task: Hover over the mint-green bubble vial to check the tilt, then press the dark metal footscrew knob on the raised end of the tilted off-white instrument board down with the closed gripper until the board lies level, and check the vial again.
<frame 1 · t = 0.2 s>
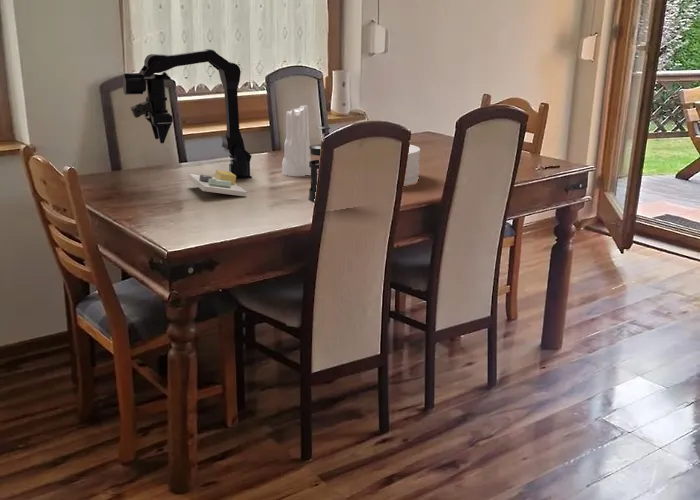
hand: (159, 141, 261), 14 cm above the table, fingers open, 9 cm apart
french press: (324, 200, 247), on the table
plate stack: (379, 180, 278), on the table
decorative vase: (297, 174, 285), on the table
instrument board: (217, 180, 253), point 4 cm above the table, hinge at 12.0°
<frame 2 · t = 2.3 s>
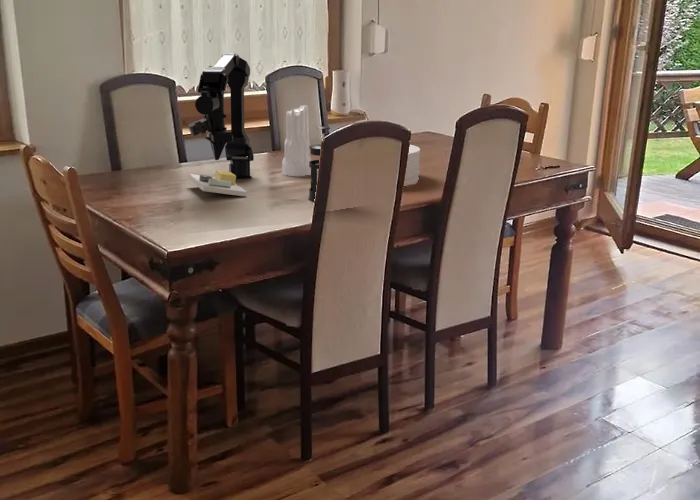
hand: (216, 159, 249), 11 cm above the table, fingers closed
nothing on the table moved.
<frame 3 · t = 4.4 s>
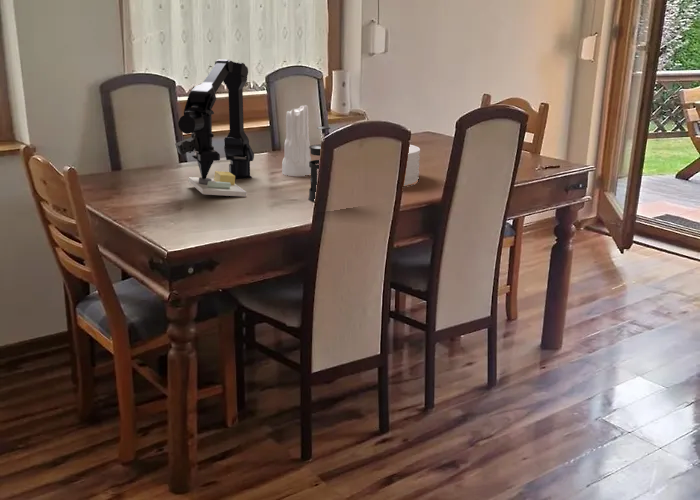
hand: (203, 178, 251), 5 cm above the table, fingers closed, pressing on instrument board
instrument board: (217, 182, 253), point 3 cm above the table, hinge at 7.8°, touching gripper
everything else where it was.
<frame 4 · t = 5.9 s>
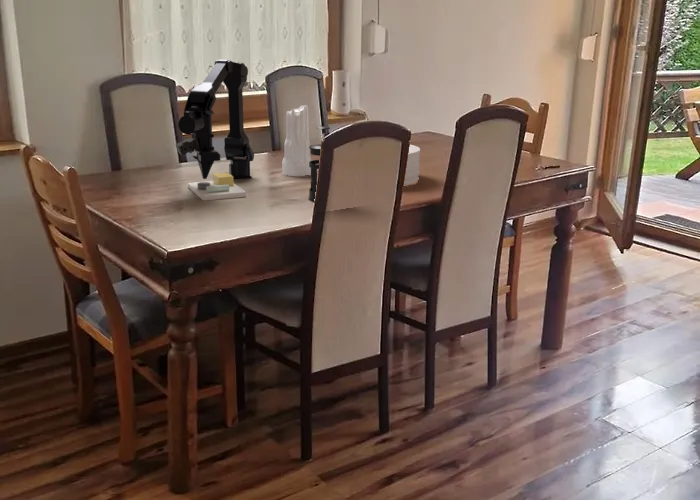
hand: (204, 178, 251), 5 cm above the table, fingers closed
instrument board: (216, 185, 254), point 2 cm above the table, hinge at -0.5°
everything else where it was.
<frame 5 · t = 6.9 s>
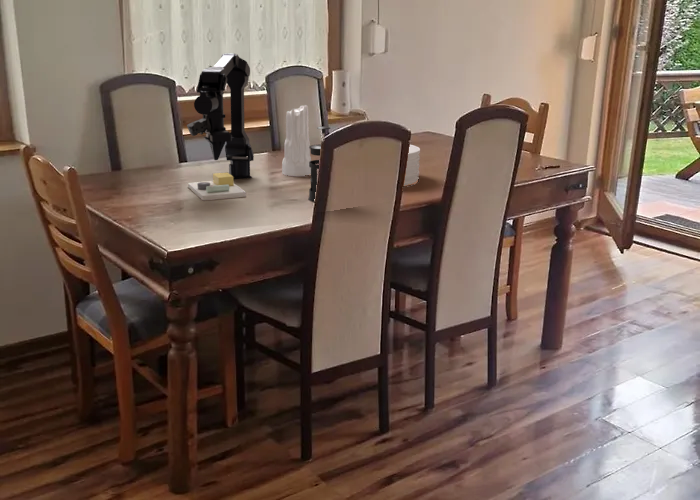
hand: (216, 159, 249), 11 cm above the table, fingers closed
nothing on the table moved.
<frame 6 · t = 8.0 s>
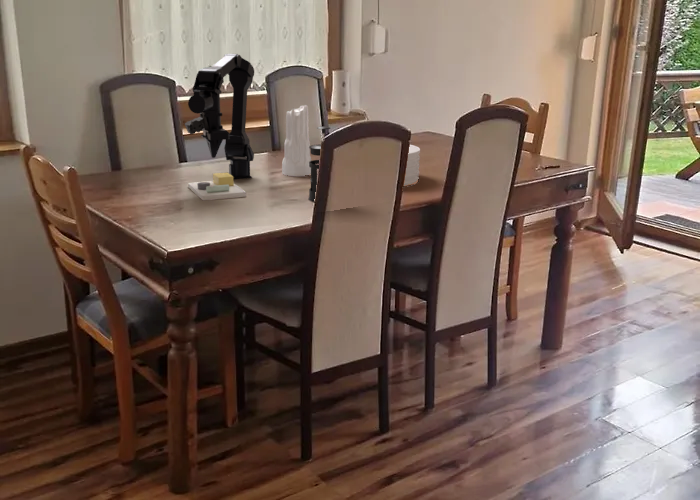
hand: (213, 157, 254), 11 cm above the table, fingers closed
nothing on the table moved.
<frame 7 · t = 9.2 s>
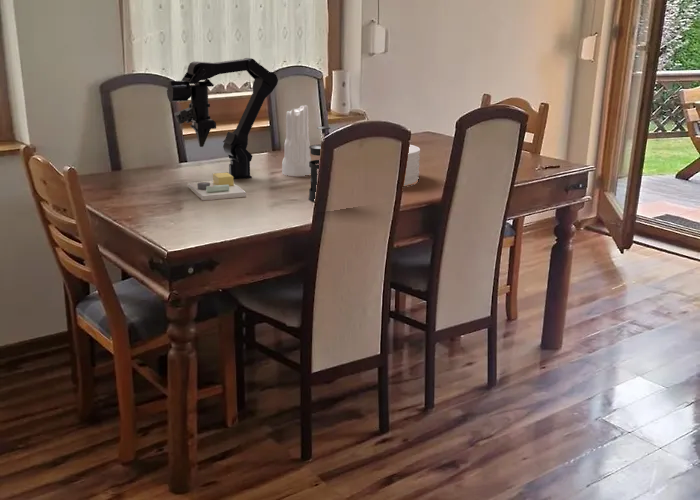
hand: (201, 146, 266), 12 cm above the table, fingers closed
nothing on the table moved.
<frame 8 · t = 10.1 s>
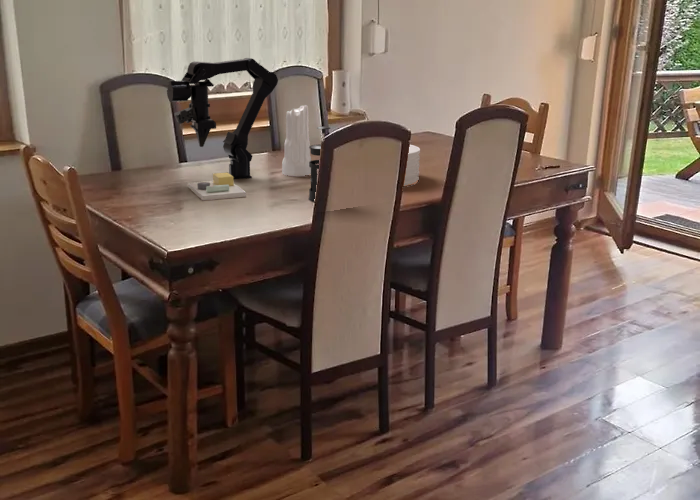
hand: (201, 146, 266), 12 cm above the table, fingers closed
nothing on the table moved.
at the end: instrument board at +0° (first picture: +12°) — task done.
